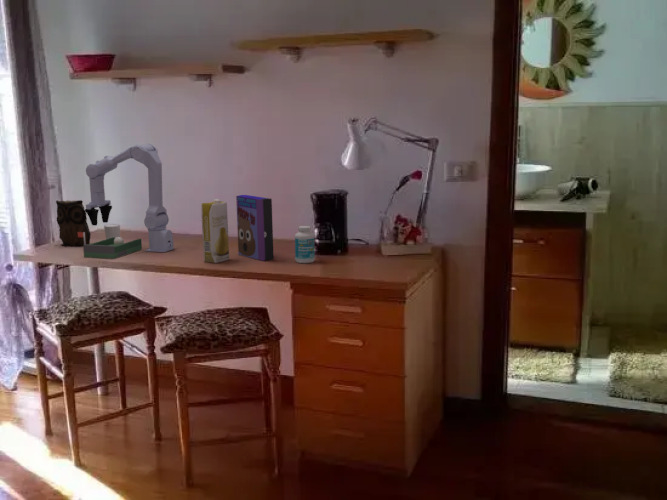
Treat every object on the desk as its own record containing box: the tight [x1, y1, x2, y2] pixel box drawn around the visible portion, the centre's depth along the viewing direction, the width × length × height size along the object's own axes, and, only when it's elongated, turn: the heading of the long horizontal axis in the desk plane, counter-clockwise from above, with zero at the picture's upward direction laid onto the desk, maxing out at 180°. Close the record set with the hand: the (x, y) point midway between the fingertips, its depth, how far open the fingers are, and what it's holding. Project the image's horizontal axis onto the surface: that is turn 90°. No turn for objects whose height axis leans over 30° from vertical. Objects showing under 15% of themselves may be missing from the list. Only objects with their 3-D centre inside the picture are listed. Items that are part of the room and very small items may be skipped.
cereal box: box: [235, 194, 274, 262], centre depth 296 cm, size 17×5×24 cm, turn 40°
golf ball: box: [114, 236, 125, 246], centre depth 315 cm, size 4×4×4 cm
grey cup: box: [103, 224, 121, 240], centre depth 339 cm, size 7×7×7 cm
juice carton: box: [200, 198, 230, 264], centre depth 291 cm, size 9×8×24 cm
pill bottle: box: [294, 225, 316, 264], centre depth 287 cm, size 8×7×14 cm
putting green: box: [78, 232, 143, 260], centre depth 311 cm, size 16×20×10 cm
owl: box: [55, 199, 92, 248], centre depth 329 cm, size 13×13×20 cm
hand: (100, 223), depth 323 cm, fingers open, 7 cm apart
